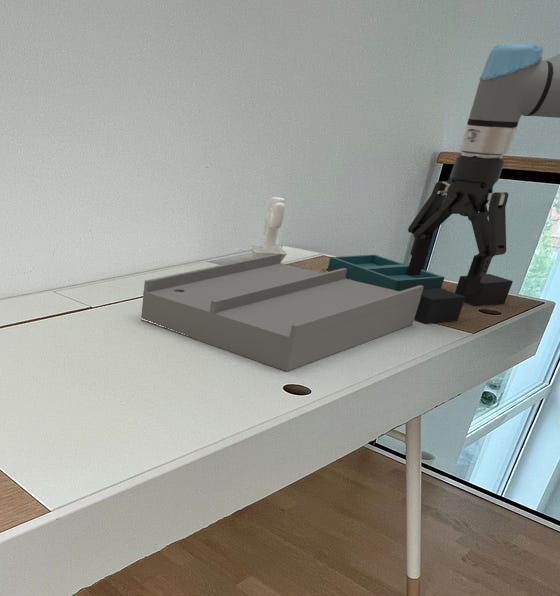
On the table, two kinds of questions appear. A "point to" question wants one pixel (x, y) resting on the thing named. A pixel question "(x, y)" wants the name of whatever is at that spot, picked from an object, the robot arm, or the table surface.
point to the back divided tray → (383, 272)
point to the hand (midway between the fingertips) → (439, 284)
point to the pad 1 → (439, 306)
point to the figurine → (271, 230)
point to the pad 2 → (486, 290)
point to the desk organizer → (277, 310)
